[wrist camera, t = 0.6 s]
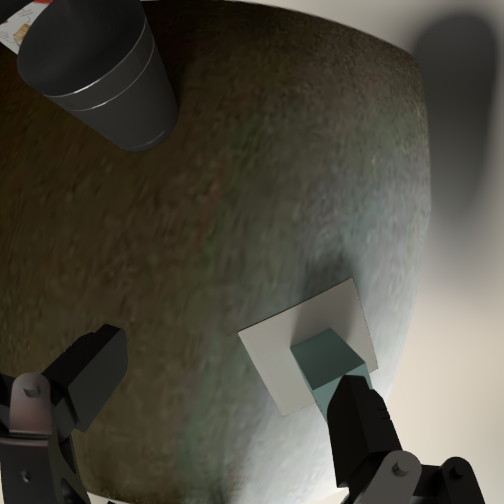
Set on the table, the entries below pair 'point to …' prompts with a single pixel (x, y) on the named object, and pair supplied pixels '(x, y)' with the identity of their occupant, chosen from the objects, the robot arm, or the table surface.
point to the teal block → (327, 365)
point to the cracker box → (20, 24)
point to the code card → (298, 330)
